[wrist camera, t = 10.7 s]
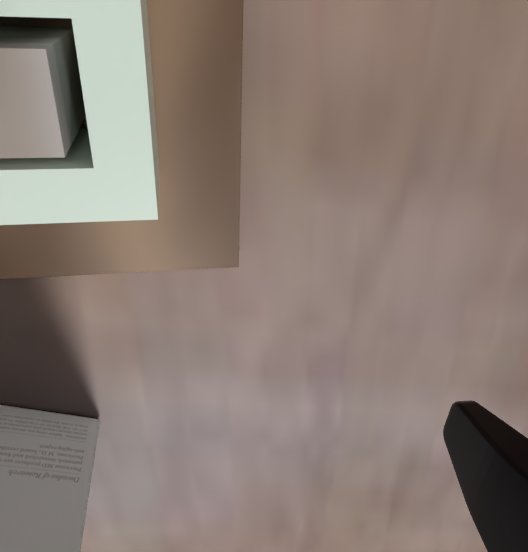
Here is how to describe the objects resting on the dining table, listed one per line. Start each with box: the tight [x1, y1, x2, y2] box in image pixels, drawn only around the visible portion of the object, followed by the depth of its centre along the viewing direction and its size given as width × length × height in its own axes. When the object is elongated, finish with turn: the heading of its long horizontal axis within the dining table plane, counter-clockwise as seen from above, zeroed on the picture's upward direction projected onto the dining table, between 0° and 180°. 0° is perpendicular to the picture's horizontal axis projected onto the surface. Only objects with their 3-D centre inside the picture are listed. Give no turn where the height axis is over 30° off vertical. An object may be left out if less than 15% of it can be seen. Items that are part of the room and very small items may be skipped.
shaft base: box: [0, 0, 243, 279], centre depth 13 cm, size 12×14×5 cm
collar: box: [0, 0, 159, 225], centre depth 13 cm, size 6×6×4 cm
